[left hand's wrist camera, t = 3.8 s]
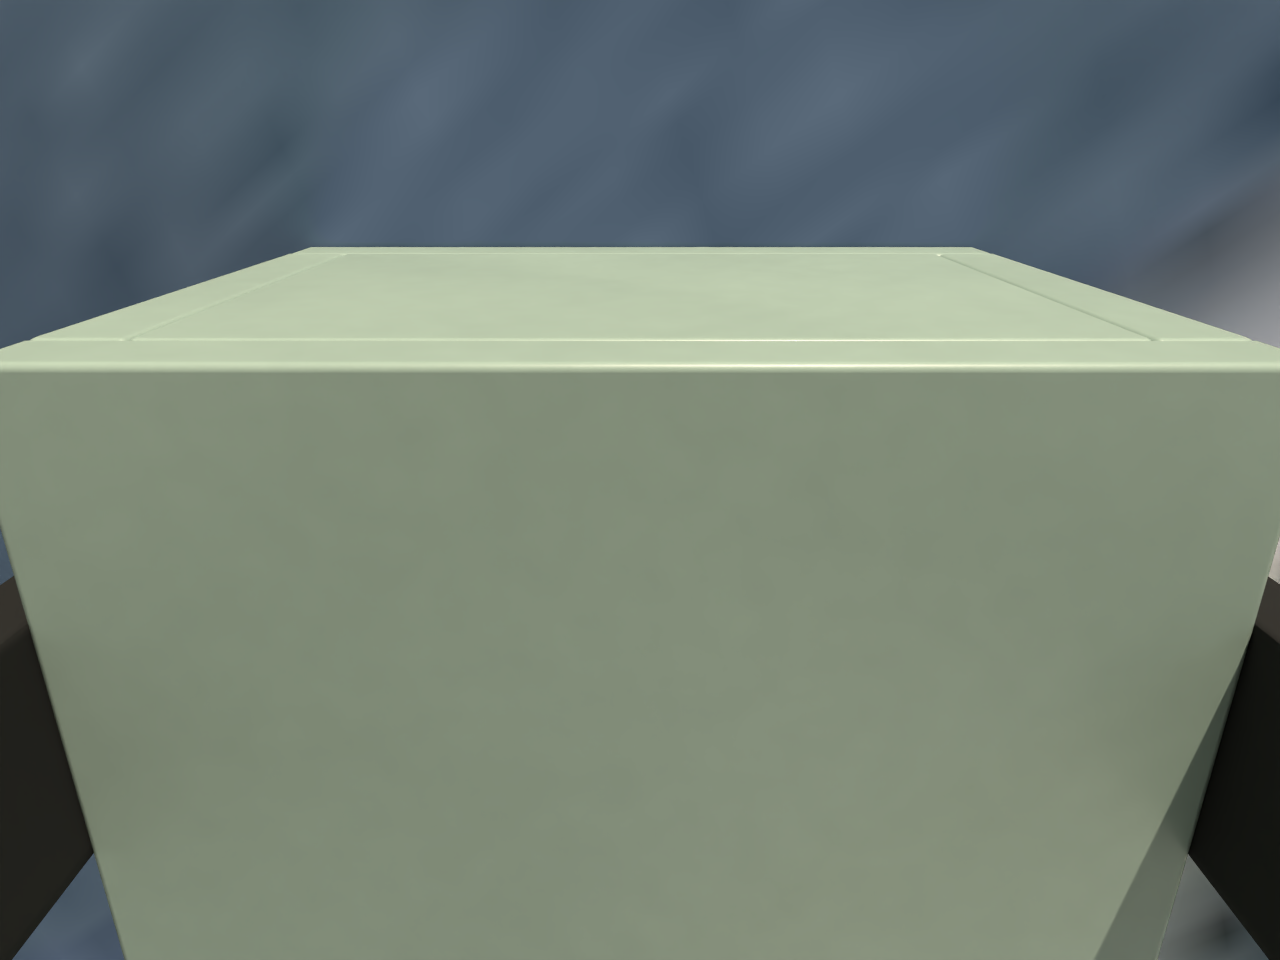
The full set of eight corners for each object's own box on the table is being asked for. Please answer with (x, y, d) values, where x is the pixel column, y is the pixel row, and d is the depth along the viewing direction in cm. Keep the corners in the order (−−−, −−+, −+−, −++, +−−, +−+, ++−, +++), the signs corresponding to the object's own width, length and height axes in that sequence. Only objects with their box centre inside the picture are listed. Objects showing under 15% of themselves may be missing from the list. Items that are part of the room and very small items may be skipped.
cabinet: (866, 1057, 22) (988, 1553, 14) (415, 1057, 22) (293, 1552, 14) (975, 246, 15) (1335, 362, 7) (307, 246, 15) (-53, 363, 7)
